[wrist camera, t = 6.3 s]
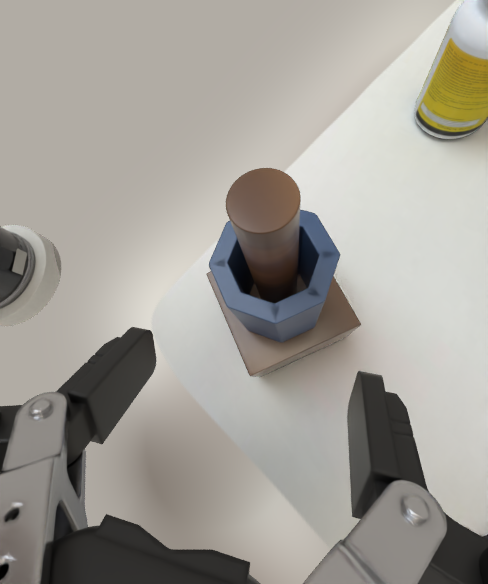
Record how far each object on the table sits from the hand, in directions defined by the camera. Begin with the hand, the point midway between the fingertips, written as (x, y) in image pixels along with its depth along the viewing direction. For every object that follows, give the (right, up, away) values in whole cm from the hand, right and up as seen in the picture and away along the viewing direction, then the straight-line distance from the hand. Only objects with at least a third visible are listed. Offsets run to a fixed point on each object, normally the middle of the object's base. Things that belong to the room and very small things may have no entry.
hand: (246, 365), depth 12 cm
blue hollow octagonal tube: (+2, +2, +9) cm, 10 cm away
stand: (+3, +1, +15) cm, 15 cm away
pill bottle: (+20, +20, +18) cm, 34 cm away
